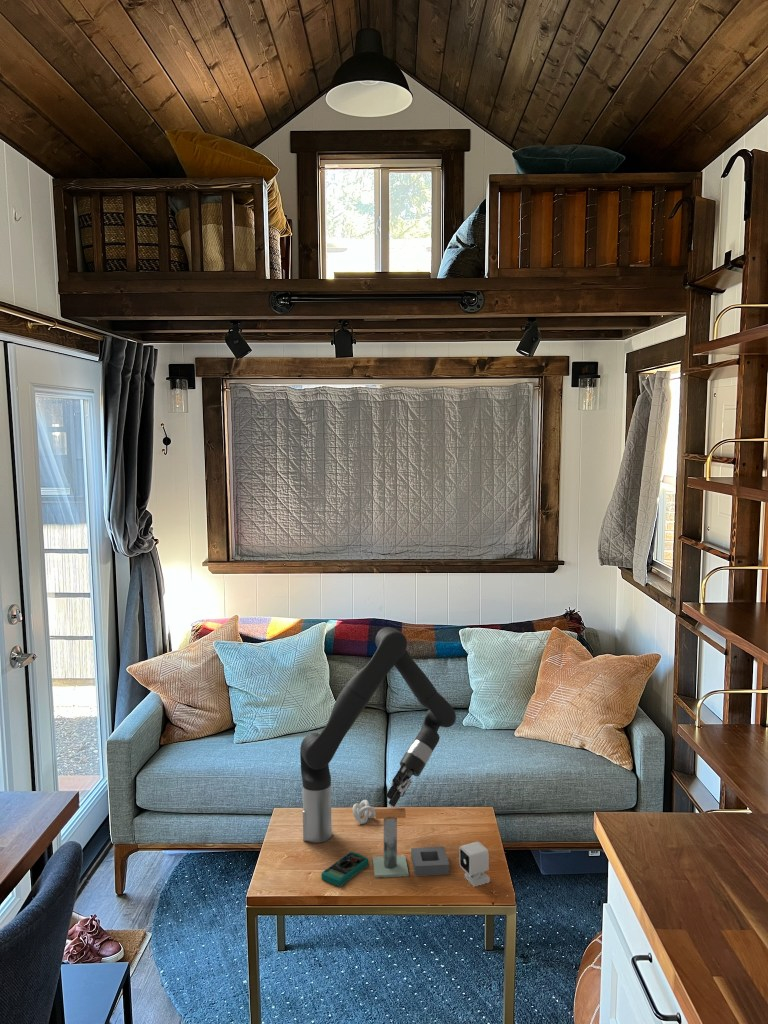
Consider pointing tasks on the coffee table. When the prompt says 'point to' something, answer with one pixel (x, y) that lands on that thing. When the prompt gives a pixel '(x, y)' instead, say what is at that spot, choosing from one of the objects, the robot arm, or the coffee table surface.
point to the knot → (363, 811)
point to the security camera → (474, 863)
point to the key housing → (429, 861)
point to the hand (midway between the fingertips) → (389, 801)
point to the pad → (386, 872)
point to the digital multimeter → (345, 869)
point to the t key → (390, 833)
